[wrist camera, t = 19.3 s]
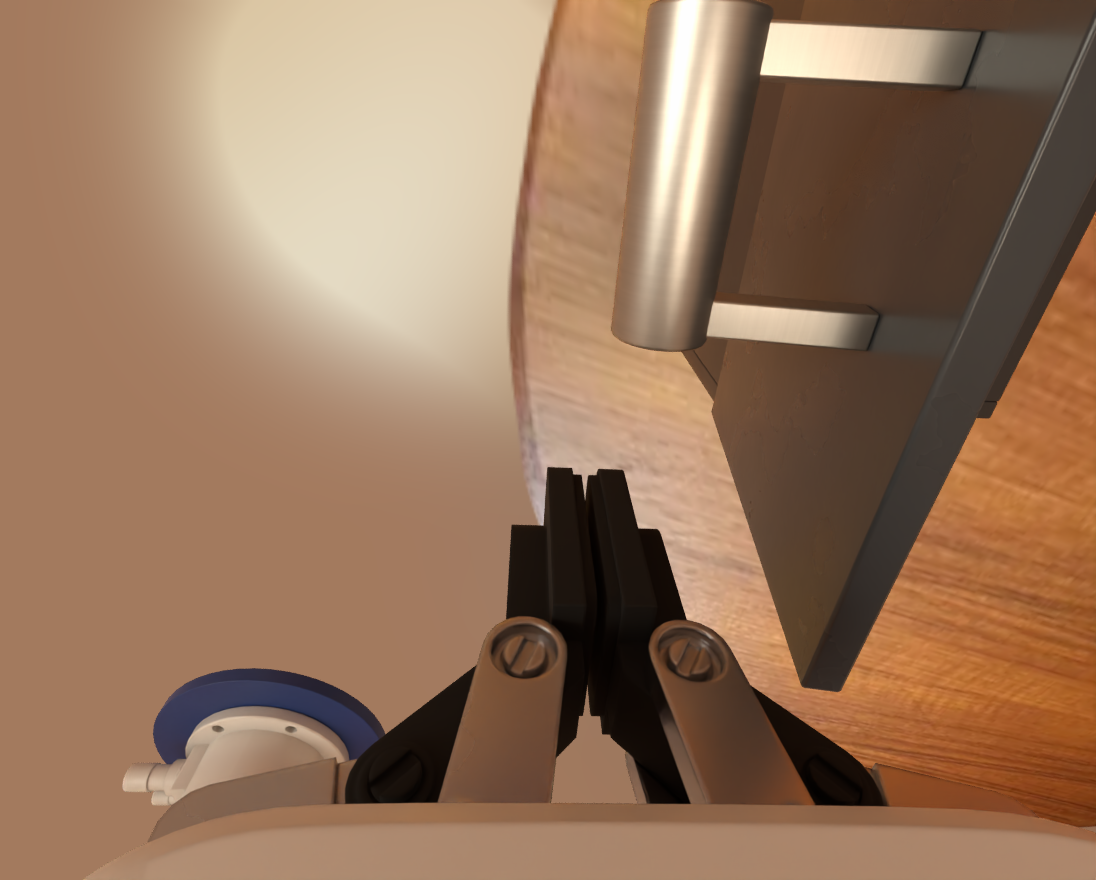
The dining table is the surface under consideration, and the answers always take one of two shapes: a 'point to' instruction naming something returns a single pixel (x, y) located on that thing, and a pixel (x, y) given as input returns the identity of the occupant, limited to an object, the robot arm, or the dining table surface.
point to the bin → (765, 116)
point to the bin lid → (852, 258)
